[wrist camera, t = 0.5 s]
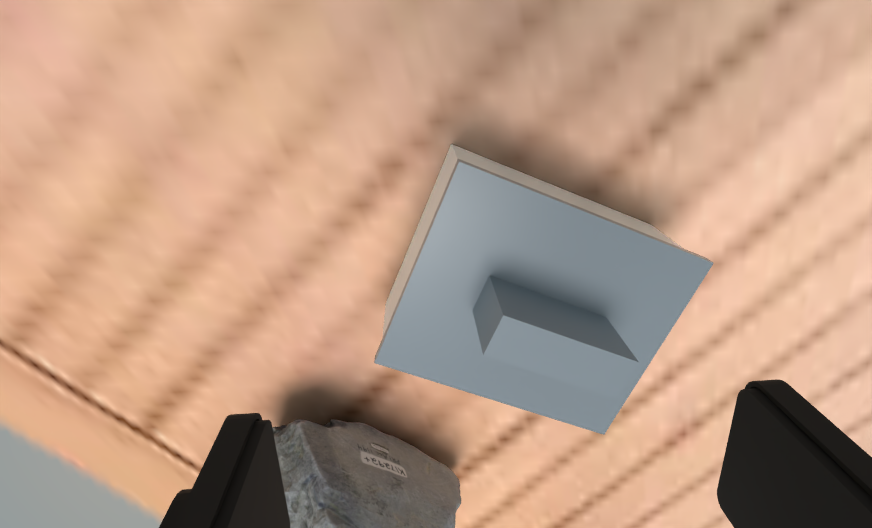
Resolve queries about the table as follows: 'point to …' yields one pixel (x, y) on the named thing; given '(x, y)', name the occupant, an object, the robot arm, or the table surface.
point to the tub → (513, 175)
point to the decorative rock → (361, 479)
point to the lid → (536, 301)
